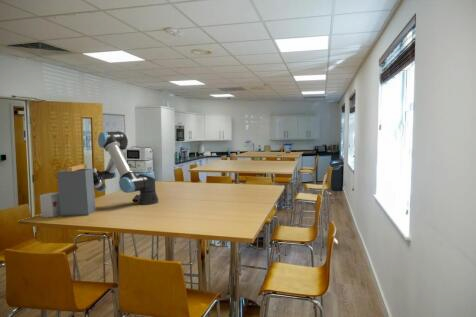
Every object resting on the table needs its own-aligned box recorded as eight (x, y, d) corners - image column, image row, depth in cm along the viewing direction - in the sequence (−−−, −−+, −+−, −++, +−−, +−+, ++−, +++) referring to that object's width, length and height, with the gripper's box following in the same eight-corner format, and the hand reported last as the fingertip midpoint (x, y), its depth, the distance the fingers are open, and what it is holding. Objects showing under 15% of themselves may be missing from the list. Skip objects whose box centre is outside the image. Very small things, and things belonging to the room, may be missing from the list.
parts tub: (95, 210, 232) (92, 168, 229) (88, 215, 219) (85, 170, 216) (69, 212, 231) (65, 169, 228) (60, 216, 218) (56, 171, 215)
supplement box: (52, 217, 217) (50, 195, 216) (41, 217, 219) (39, 195, 217) (62, 214, 226) (60, 192, 224) (51, 213, 227) (49, 192, 226)
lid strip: (86, 167, 238) (86, 164, 238) (72, 171, 214) (71, 167, 214) (82, 167, 238) (82, 164, 238) (67, 171, 214) (67, 167, 214)
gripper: (111, 184, 258) (101, 174, 239) (78, 186, 257) (66, 175, 238) (112, 176, 262) (103, 164, 243) (80, 177, 260) (68, 166, 241)
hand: (85, 170), depth 240 cm, fingers open, 13 cm apart
